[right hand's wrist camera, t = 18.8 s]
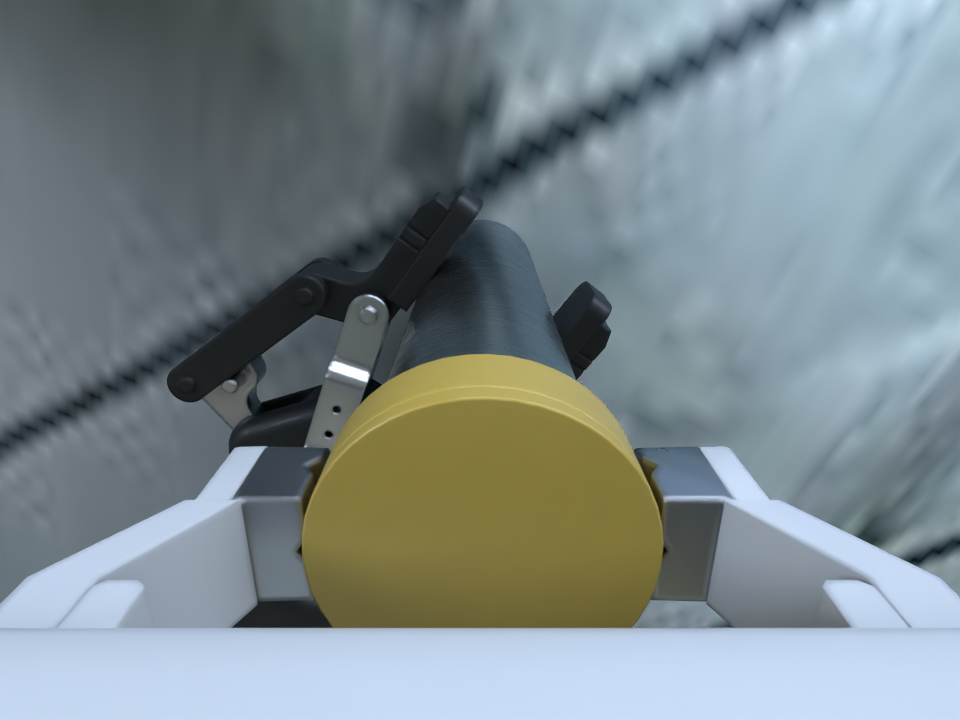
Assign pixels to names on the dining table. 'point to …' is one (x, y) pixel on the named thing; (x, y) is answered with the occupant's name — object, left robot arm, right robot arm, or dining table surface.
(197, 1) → the dining table surface
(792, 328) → the dining table surface
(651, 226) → the dining table surface
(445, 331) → the dark grey cylinder
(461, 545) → the lid
